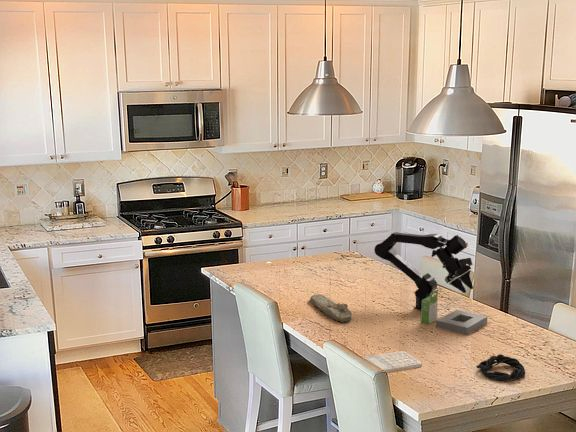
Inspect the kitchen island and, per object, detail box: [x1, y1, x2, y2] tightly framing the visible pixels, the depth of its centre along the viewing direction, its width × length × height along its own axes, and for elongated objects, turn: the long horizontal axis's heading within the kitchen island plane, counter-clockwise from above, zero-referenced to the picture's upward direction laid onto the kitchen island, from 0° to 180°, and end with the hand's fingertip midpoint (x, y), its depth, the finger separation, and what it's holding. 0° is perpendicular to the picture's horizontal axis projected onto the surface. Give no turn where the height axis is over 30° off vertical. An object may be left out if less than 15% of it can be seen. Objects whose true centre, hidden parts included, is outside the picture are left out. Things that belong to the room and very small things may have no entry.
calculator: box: [362, 350, 423, 373], centre depth 265 cm, size 13×20×2 cm, turn 112°
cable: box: [475, 354, 526, 382], centre depth 257 cm, size 17×14×4 cm
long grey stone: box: [309, 293, 353, 323], centre depth 323 cm, size 35×5×10 cm
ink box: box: [420, 289, 439, 325], centre depth 309 cm, size 7×4×13 cm, turn 141°
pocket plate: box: [435, 309, 488, 336], centre depth 305 cm, size 14×18×3 cm
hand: (468, 290), depth 314 cm, fingers open, 9 cm apart
